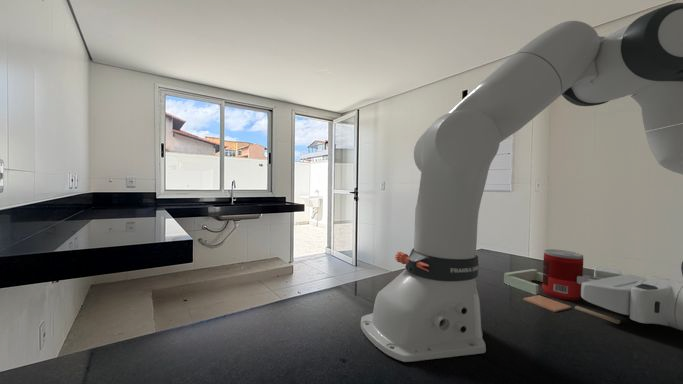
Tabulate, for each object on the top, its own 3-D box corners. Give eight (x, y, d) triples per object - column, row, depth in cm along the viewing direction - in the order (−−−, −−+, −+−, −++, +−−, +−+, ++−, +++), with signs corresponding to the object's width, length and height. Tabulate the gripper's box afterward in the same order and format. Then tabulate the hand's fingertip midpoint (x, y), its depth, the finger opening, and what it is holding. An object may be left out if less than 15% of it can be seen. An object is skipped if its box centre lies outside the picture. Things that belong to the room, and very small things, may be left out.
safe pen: (535, 294, 72) (536, 283, 71) (503, 283, 79) (504, 273, 79) (565, 288, 77) (566, 278, 77) (532, 278, 85) (533, 268, 85)
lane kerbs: (617, 323, 57) (617, 321, 57) (550, 300, 68) (550, 298, 68) (647, 314, 62) (647, 311, 62) (580, 293, 74) (580, 291, 74)
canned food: (589, 301, 68) (592, 256, 68) (557, 300, 68) (560, 255, 68) (563, 289, 76) (566, 249, 76) (535, 289, 76) (537, 248, 75)
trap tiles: (554, 312, 62) (555, 310, 62) (506, 293, 72) (506, 291, 72) (615, 296, 72) (615, 295, 72) (565, 282, 82) (566, 281, 82)
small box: (593, 282, 84) (594, 265, 84) (620, 287, 80) (620, 270, 80) (593, 286, 80) (594, 269, 80) (622, 292, 76) (623, 274, 76)
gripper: (685, 279, 60) (603, 262, 72) (638, 291, 52) (555, 269, 64) (683, 308, 60) (602, 286, 73) (636, 324, 52) (554, 296, 64)
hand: (580, 278), depth 68 cm, fingers closed, pressing on canned food
